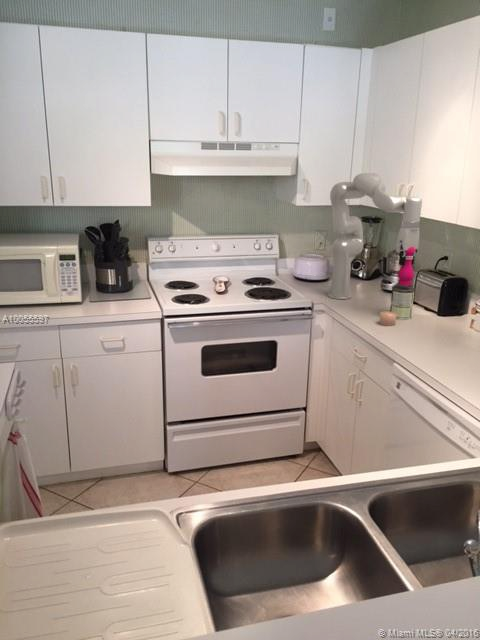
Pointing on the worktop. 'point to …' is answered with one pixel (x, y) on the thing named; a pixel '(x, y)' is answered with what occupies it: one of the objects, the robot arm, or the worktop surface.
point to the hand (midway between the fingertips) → (406, 264)
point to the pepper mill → (406, 269)
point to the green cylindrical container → (402, 301)
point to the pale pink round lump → (387, 318)
